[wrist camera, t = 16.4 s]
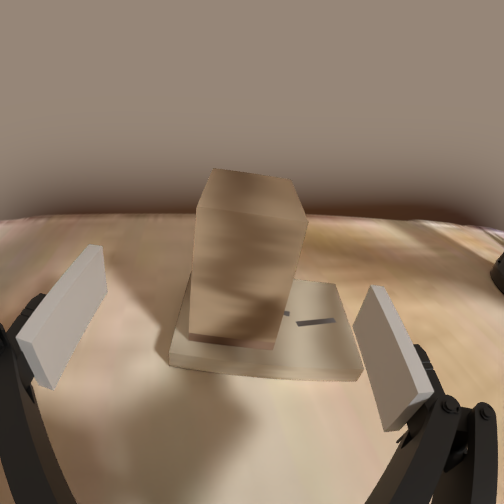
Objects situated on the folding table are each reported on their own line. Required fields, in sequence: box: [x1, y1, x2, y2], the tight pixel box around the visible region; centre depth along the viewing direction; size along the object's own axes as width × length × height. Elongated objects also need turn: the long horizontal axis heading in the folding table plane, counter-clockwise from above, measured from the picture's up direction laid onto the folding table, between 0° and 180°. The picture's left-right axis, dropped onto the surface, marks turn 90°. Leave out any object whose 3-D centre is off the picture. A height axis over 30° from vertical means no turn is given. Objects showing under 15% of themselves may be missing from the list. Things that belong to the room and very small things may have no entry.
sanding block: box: [189, 168, 308, 350], centre depth 22 cm, size 6×8×10 cm
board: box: [169, 271, 364, 381], centre depth 25 cm, size 14×11×2 cm
